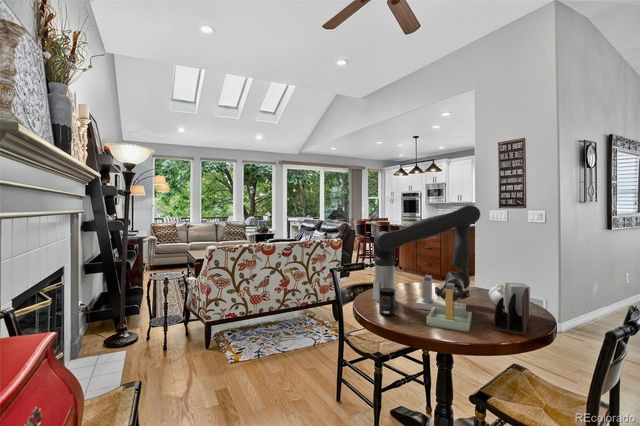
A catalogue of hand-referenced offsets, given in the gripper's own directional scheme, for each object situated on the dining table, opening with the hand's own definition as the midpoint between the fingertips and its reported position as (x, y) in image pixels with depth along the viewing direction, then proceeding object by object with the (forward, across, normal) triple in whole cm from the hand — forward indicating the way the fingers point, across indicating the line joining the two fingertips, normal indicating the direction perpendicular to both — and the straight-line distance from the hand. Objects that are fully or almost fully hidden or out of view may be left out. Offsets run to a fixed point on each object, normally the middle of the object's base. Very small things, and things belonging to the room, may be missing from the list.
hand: (448, 297), depth 129 cm
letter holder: (-11, +22, +11) cm, 27 cm away
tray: (-3, 0, +10) cm, 11 cm away
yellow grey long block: (-3, 0, +10) cm, 10 cm away
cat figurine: (-39, +18, +11) cm, 44 cm away
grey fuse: (-19, -11, +10) cm, 24 cm away
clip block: (-19, -6, +10) cm, 22 cm away
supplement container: (-1, -25, +11) cm, 27 cm away
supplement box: (-26, +24, +11) cm, 37 cm away
